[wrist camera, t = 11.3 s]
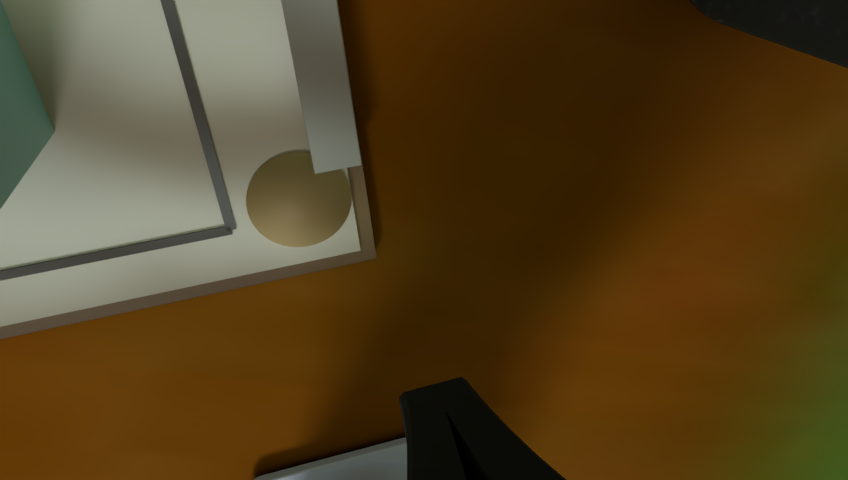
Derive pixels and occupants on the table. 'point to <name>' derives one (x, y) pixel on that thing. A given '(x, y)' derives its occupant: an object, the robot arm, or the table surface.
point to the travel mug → (789, 23)
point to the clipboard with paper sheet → (179, 155)
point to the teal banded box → (18, 113)
